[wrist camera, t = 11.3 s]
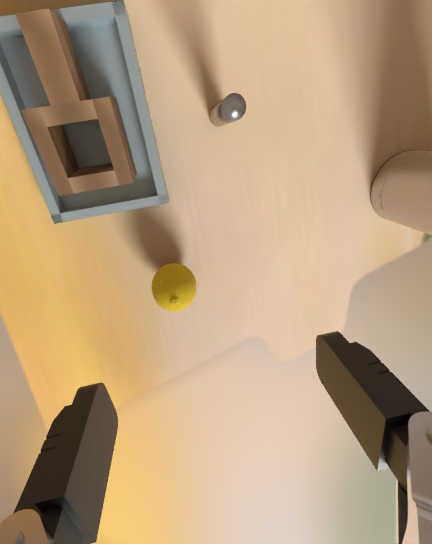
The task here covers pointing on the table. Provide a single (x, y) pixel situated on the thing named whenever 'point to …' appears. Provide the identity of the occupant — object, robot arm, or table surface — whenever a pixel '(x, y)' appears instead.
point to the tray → (100, 83)
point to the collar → (70, 110)
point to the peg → (228, 110)
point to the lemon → (174, 287)
